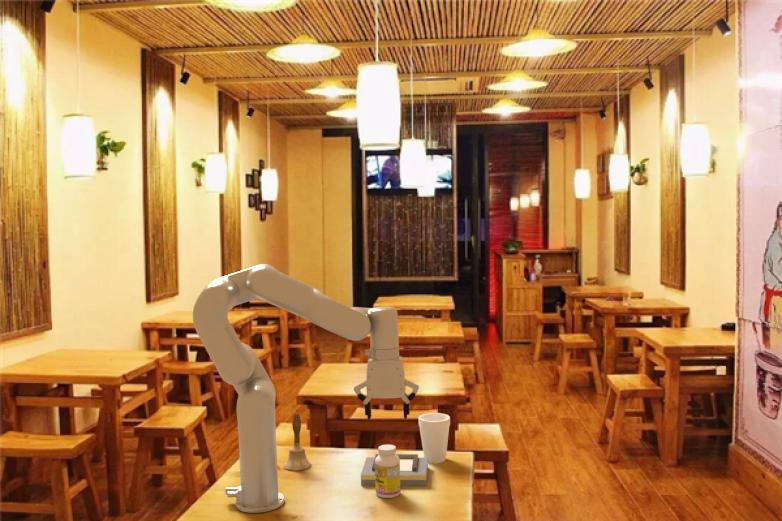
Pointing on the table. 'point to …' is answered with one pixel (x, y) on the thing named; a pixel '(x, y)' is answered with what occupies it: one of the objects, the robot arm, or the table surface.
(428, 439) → the foam cup
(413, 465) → the bay rails
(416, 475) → the loading dock
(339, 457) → the table surface
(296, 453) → the hand bell
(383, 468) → the supplement bottle
